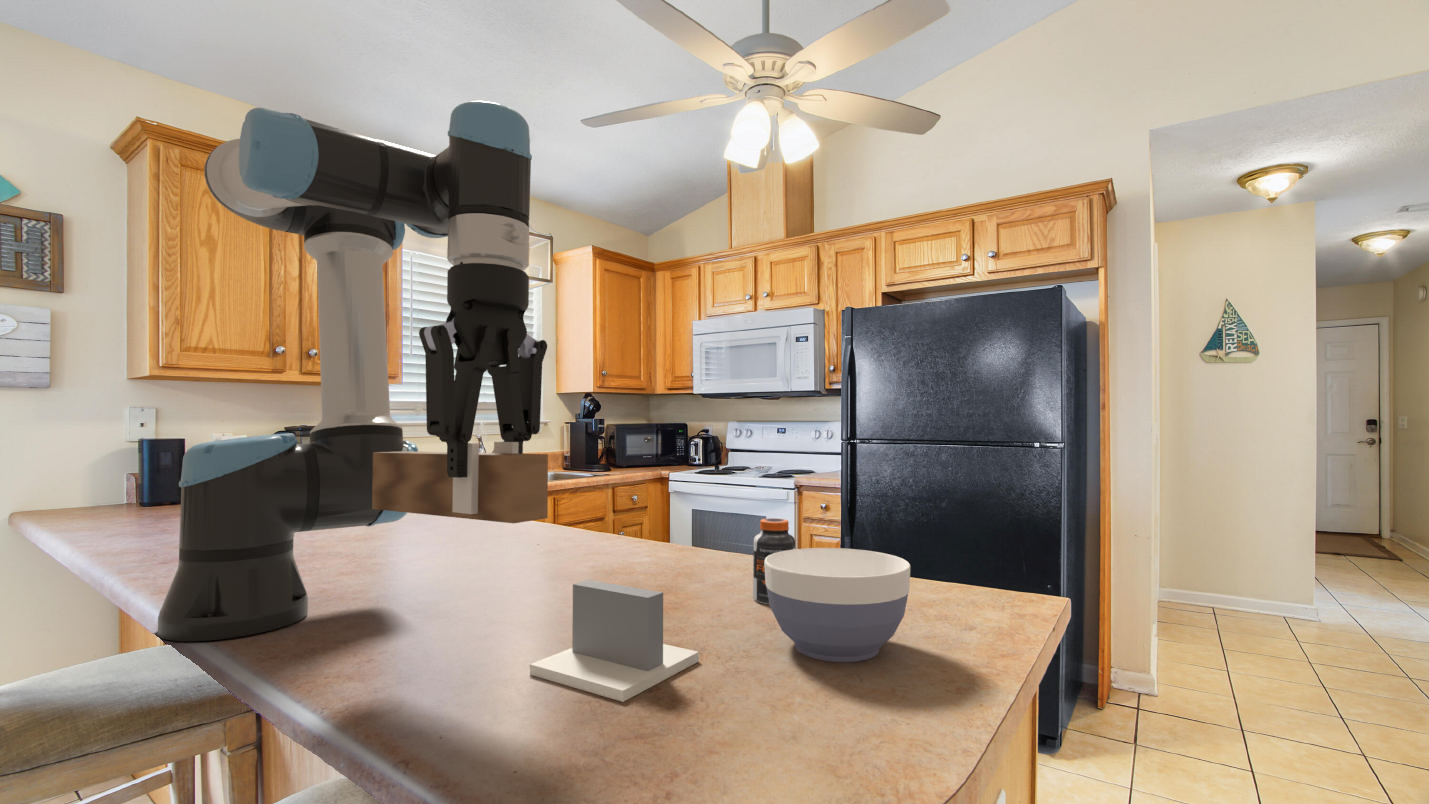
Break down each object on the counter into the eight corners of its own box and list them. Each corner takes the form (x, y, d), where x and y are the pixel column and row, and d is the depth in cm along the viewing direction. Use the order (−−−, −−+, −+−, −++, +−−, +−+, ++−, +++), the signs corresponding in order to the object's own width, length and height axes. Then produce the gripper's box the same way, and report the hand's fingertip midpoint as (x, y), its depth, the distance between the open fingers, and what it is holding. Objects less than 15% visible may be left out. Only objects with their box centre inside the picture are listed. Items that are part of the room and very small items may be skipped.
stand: (529, 674, 65) (530, 592, 66) (611, 641, 75) (611, 570, 76) (622, 701, 59) (623, 611, 59) (698, 661, 69) (698, 584, 69)
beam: (372, 508, 70) (372, 452, 71) (406, 505, 74) (407, 451, 74) (513, 523, 59) (514, 455, 59) (547, 518, 62) (547, 454, 62)
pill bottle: (750, 604, 91) (750, 521, 91) (755, 593, 97) (755, 516, 97) (794, 606, 90) (794, 522, 90) (796, 595, 96) (796, 517, 96)
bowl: (921, 636, 77) (920, 554, 77) (898, 685, 63) (896, 583, 63) (790, 619, 84) (790, 543, 84) (742, 660, 69) (742, 568, 70)
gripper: (435, 243, 55) (430, 524, 54) (579, 280, 70) (577, 503, 69) (383, 255, 59) (378, 517, 58) (529, 288, 74) (526, 499, 73)
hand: (485, 509), depth 64 cm, fingers closed on beam, 4 cm apart
